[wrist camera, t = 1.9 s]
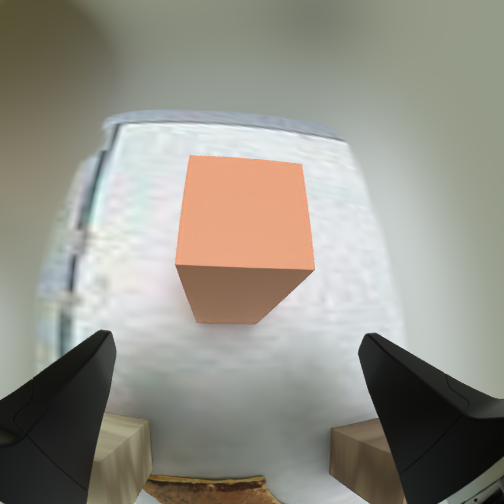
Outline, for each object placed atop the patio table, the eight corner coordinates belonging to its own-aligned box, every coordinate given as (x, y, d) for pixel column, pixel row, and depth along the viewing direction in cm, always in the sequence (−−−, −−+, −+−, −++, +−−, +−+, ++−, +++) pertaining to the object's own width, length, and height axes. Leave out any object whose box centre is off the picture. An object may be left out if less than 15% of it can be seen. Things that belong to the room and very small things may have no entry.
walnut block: (374, 461, 16) (453, 490, 7) (329, 473, 16) (398, 521, 7) (376, 418, 18) (463, 432, 9) (330, 428, 17) (409, 459, 8)
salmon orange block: (255, 324, 20) (315, 269, 9) (196, 322, 20) (175, 264, 8) (255, 268, 22) (301, 164, 10) (199, 266, 21) (189, 155, 10)
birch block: (152, 469, 14) (115, 534, 5) (100, 459, 14) (37, 504, 5) (149, 419, 16) (99, 462, 7) (96, 410, 15) (20, 433, 6)
